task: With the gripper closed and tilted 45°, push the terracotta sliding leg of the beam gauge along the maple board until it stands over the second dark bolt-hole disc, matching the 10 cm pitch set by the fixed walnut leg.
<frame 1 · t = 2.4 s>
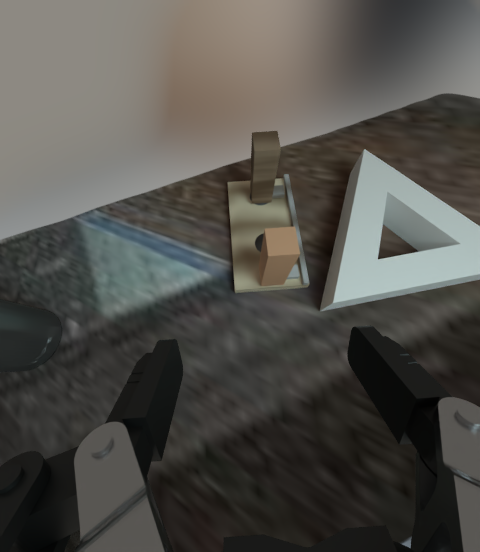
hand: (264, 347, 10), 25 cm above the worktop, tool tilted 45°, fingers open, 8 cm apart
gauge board: (263, 232, 41), on the worktop
fixed leg: (259, 201, 43), resting on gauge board
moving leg: (284, 260, 31), point 7 cm above the worktop, slide at 0.0 cm
triangle block: (407, 256, 39), on the worktop
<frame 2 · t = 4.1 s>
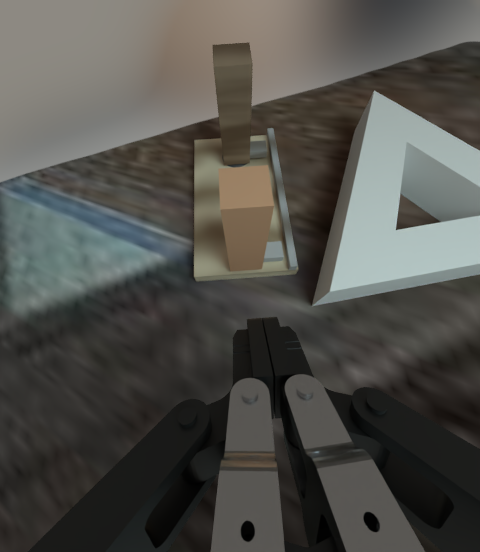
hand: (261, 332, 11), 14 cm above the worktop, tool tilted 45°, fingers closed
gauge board: (239, 203, 31), on the worktop
fixed leg: (236, 165, 33), resting on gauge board
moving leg: (257, 229, 20), point 7 cm above the worktop, slide at 0.0 cm
triangle block: (432, 234, 29), on the worktop
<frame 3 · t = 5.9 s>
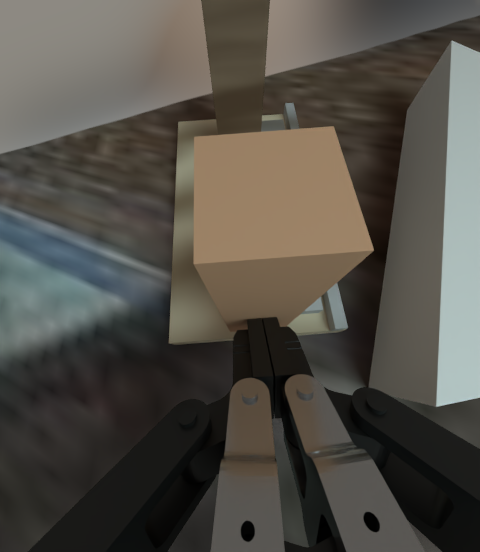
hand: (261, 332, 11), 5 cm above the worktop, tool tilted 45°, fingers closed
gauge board: (244, 214, 20), on the worktop
fixed leg: (239, 158, 23), resting on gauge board
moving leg: (285, 272, 10), point 7 cm above the worktop, slide at 0.2 cm, touching gripper
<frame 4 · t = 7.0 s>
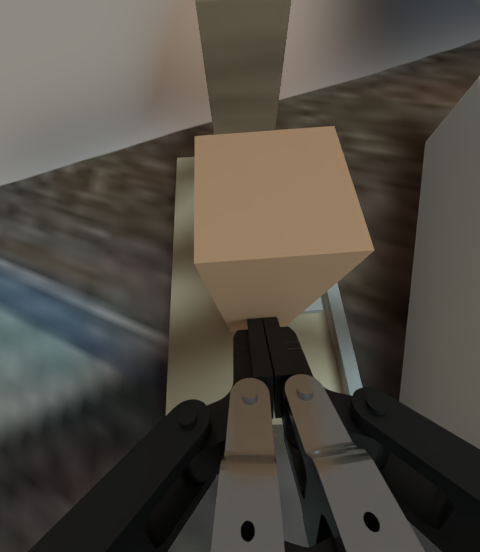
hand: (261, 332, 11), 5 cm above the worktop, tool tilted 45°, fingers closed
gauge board: (249, 265, 18), on the worktop
fixed leg: (243, 198, 21), resting on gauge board
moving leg: (285, 272, 10), point 7 cm above the worktop, slide at 5.3 cm, touching gripper
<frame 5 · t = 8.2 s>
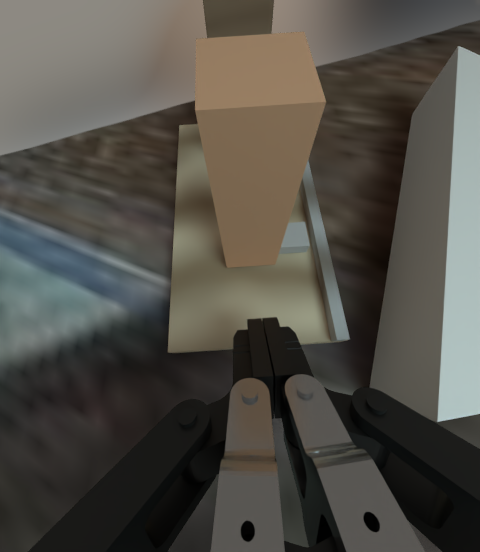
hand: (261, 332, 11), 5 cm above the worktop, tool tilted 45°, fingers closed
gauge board: (245, 220, 20), on the worktop
fixed leg: (240, 162, 23), resting on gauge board
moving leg: (273, 193, 12), point 7 cm above the worktop, slide at 5.4 cm
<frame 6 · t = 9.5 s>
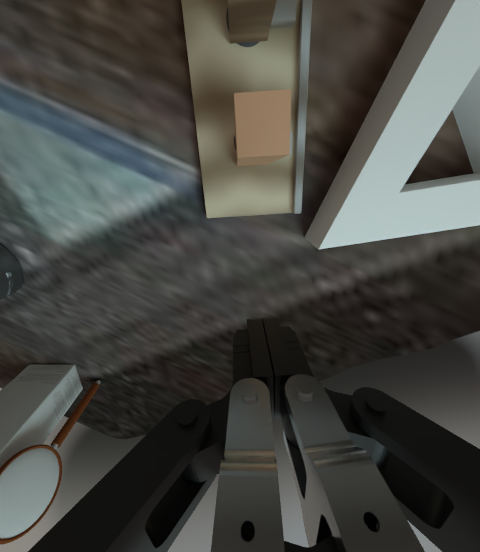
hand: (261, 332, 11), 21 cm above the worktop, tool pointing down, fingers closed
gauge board: (249, 113, 25), on the worktop
fixed leg: (246, 28, 22), resting on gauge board
skincare box: (58, 374, 41), on the worktop
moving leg: (269, 138, 20), point 7 cm above the worktop, slide at 5.4 cm
triangle block: (448, 163, 28), on the worktop
magnifying glass: (99, 379, 41), on the worktop
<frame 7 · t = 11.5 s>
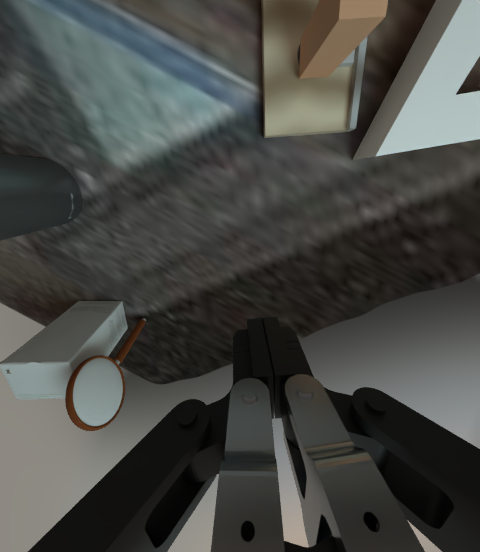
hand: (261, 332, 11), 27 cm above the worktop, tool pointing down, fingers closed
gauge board: (311, 27, 27), on the worktop
skincare box: (105, 313, 42), on the worktop
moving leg: (346, 29, 21), point 7 cm above the worktop, slide at 5.4 cm
magnifying glass: (144, 318, 43), on the worktop
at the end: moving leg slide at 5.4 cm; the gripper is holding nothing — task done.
